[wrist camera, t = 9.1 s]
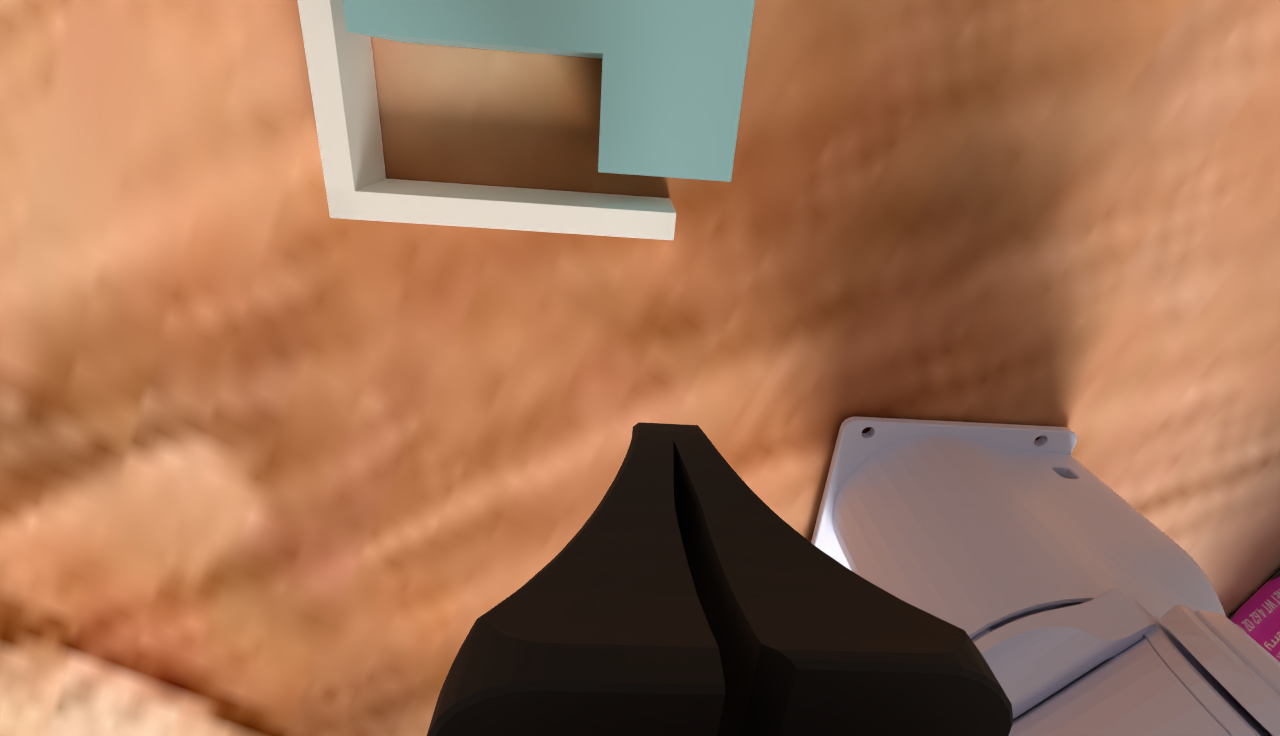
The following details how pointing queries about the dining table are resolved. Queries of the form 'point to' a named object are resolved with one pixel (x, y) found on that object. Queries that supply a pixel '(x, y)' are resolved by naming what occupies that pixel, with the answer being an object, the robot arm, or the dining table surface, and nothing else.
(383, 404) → the dining table surface
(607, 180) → the dining table surface
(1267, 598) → the candy bar box
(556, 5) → the t block
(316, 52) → the white u-shaped bracket
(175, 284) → the dining table surface
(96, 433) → the dining table surface
